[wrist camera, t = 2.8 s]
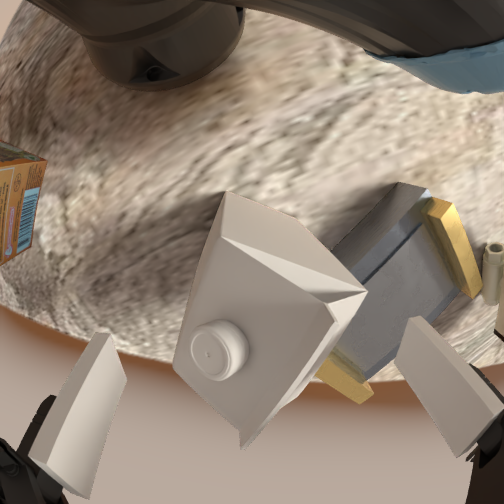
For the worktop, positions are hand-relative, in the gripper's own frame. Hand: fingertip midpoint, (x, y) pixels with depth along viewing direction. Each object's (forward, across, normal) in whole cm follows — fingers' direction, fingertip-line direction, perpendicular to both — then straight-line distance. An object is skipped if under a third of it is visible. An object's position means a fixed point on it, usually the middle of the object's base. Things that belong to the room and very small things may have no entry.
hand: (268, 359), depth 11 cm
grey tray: (+16, +16, -7) cm, 24 cm away
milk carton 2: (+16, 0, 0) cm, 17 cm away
